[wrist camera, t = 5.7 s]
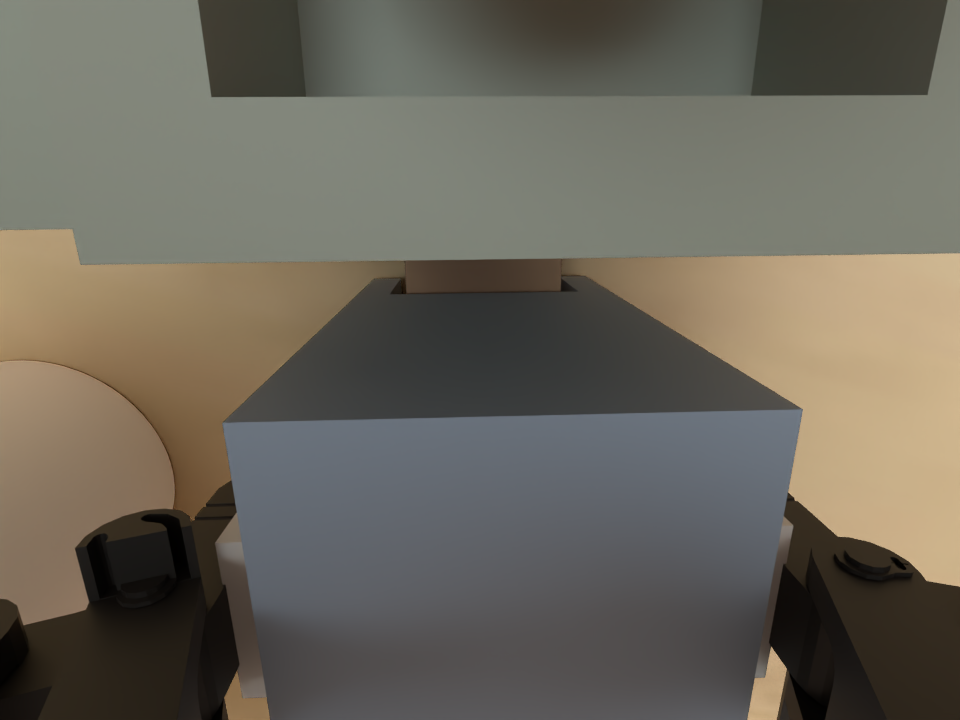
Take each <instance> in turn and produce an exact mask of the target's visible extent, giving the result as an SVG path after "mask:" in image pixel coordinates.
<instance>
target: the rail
mask: <svg viewBox="0 0 960 720" xmlns="http://www.w3.org/2000/svg"><path fill="white" fill-rule="evenodd" d="M561 267H562V258H557V259H481V260H405V275H406V294H447V293H512V292H561Z"/></svg>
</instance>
